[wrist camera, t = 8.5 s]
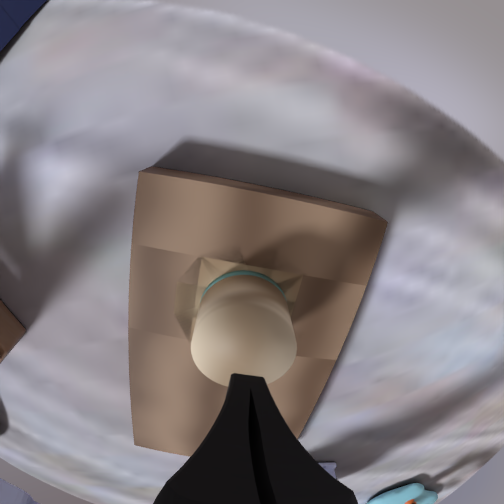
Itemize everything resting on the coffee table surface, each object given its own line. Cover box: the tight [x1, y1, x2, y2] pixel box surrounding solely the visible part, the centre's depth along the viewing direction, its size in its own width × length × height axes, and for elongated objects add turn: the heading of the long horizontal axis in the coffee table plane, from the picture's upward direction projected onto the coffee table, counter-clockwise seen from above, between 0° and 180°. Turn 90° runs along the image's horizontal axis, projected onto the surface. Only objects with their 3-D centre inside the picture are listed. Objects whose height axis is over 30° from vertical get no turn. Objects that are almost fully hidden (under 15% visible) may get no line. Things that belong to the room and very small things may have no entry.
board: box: [128, 166, 388, 456], centre depth 22 cm, size 14×24×2 cm, turn 168°
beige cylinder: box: [191, 270, 297, 387], centre depth 18 cm, size 5×5×6 cm
